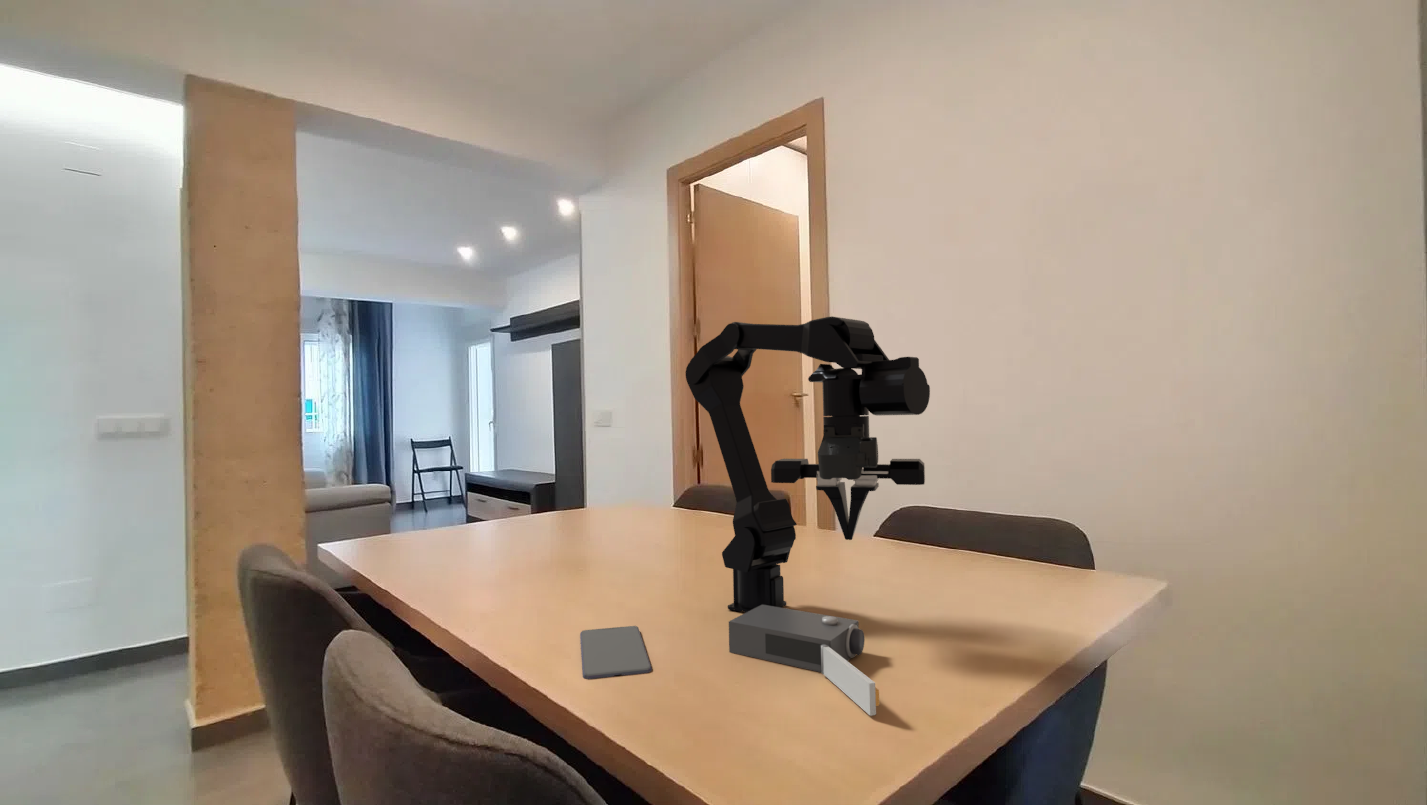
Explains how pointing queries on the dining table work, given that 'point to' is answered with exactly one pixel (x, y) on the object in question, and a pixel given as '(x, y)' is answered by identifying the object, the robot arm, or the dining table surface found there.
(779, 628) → the block
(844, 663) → the side door
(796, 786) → the dining table surface
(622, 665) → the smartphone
